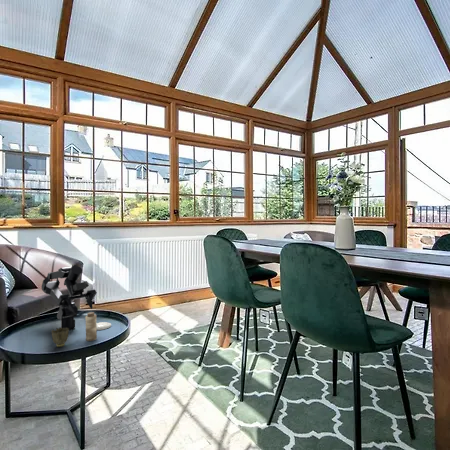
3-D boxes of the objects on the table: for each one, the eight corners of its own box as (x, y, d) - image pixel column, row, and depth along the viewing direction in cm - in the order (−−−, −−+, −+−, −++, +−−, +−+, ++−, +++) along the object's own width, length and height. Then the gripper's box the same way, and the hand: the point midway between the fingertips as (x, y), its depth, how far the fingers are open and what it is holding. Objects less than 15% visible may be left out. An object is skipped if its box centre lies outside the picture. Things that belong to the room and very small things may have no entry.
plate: (92, 331, 177) (91, 329, 177) (88, 326, 187) (88, 324, 187) (113, 327, 183) (113, 325, 183) (108, 322, 192) (108, 321, 192)
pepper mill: (86, 341, 162) (86, 315, 162) (85, 338, 166) (84, 312, 166) (97, 339, 165) (97, 313, 165) (95, 336, 169) (95, 311, 169)
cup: (63, 342, 161) (62, 326, 161) (72, 345, 158) (72, 328, 158) (48, 347, 155) (47, 330, 155) (57, 350, 151) (57, 332, 151)
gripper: (59, 279, 166) (70, 304, 159) (94, 274, 181) (105, 297, 174) (52, 293, 172) (63, 317, 165) (87, 287, 186) (98, 309, 179)
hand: (83, 310), depth 170 cm, fingers open, 9 cm apart
